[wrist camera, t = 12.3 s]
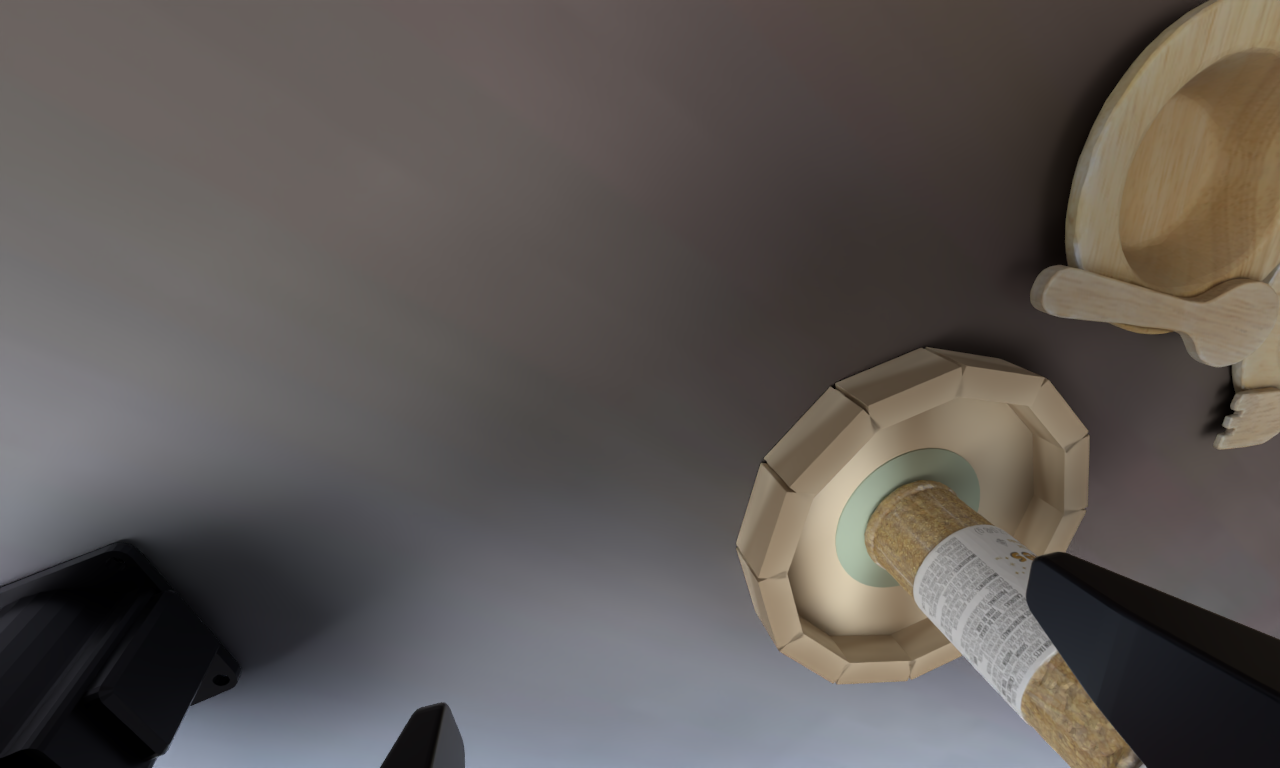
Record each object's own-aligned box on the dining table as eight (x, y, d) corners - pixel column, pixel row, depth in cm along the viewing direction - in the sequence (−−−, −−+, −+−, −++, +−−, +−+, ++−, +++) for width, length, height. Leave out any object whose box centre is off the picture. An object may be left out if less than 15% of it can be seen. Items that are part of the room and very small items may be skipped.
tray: (779, 691, 29) (801, 731, 27) (702, 437, 23) (723, 466, 21) (1045, 567, 31) (1085, 597, 29) (1043, 297, 24) (1093, 311, 22)
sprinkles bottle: (971, 500, 27) (1379, 800, 15) (905, 578, 28) (1241, 924, 15) (906, 458, 25) (1313, 762, 13) (838, 543, 26) (1160, 905, 14)
